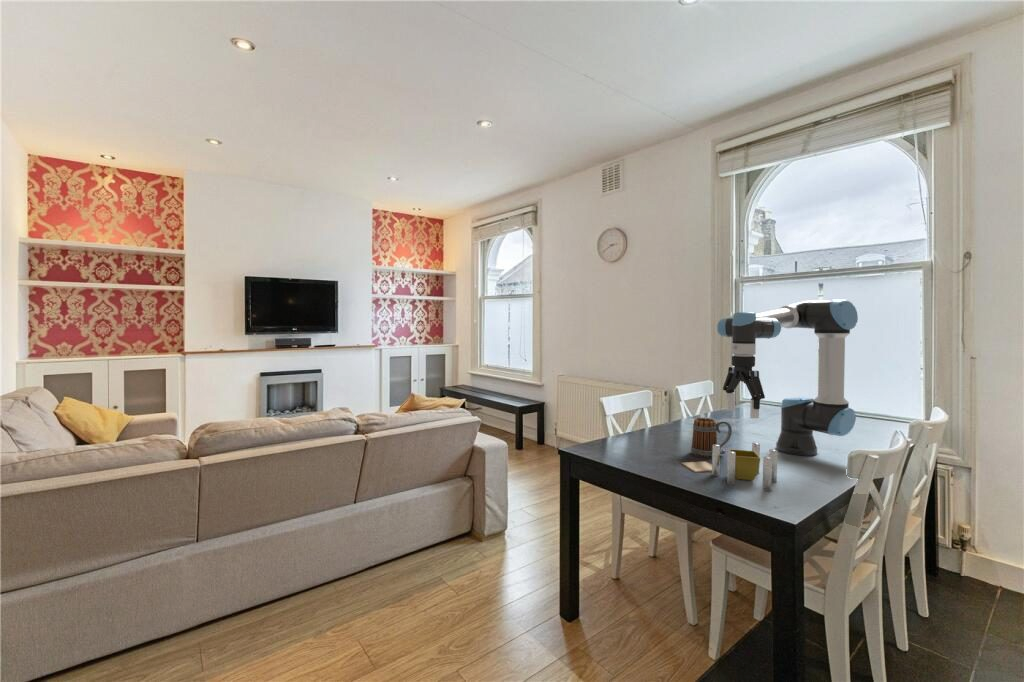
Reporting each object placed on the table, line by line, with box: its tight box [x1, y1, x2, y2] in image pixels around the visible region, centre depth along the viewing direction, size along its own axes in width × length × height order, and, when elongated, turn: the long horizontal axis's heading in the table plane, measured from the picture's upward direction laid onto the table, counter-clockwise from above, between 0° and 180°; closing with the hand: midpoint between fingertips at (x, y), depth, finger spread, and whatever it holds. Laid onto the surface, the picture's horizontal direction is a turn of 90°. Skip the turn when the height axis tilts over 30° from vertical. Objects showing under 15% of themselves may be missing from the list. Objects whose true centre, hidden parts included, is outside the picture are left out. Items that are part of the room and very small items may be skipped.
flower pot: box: [728, 449, 761, 481], centre depth 164 cm, size 9×9×9 cm
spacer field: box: [711, 441, 778, 493], centre depth 160 cm, size 18×19×11 cm
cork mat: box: [681, 460, 712, 473], centre depth 175 cm, size 10×10×1 cm
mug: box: [690, 417, 733, 459], centre depth 191 cm, size 16×11×15 cm
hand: (742, 414), depth 164 cm, fingers open, 13 cm apart
